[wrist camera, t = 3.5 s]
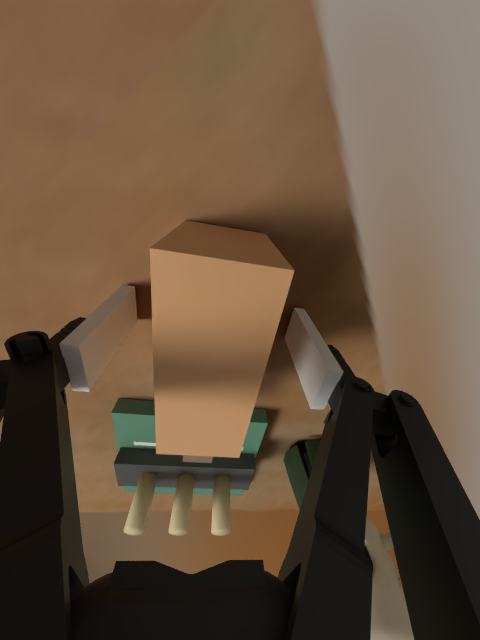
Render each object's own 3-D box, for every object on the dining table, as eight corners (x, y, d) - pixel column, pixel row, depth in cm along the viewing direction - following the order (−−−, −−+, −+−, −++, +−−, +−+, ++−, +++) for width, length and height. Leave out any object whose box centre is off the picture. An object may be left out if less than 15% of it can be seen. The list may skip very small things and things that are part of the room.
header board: (118, 398, 20) (72, 487, 14) (265, 409, 22) (279, 493, 16) (130, 477, 27) (102, 560, 21) (241, 481, 29) (244, 559, 23)
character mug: (345, 417, 23) (455, 631, 12) (364, 449, 26) (463, 642, 15) (253, 452, 26) (272, 656, 15) (280, 478, 29) (313, 661, 18)
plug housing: (178, 393, 20) (156, 480, 14) (185, 220, 13) (149, 248, 7) (230, 397, 21) (231, 483, 15) (265, 233, 14) (294, 270, 8)
